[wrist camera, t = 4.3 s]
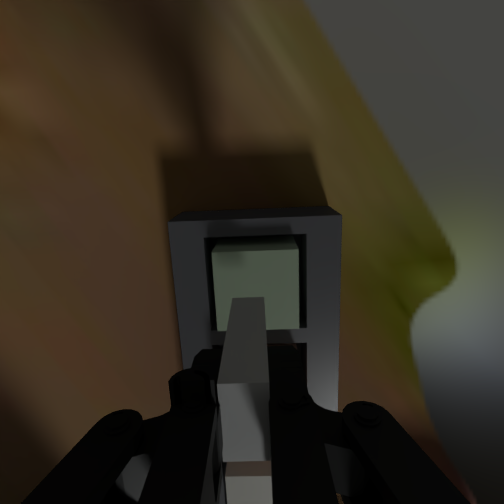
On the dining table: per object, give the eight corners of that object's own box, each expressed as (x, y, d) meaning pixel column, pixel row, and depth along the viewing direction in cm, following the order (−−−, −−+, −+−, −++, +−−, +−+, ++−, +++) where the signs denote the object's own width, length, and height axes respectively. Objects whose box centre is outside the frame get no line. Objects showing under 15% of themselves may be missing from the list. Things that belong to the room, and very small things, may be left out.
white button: (233, 485, 26) (229, 535, 23) (230, 432, 25) (225, 476, 21) (297, 484, 26) (303, 534, 22) (297, 431, 25) (303, 475, 21)
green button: (223, 306, 24) (217, 331, 20) (219, 238, 23) (211, 252, 19) (293, 303, 24) (299, 328, 20) (292, 235, 22) (298, 249, 19)
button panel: (207, 468, 29) (199, 514, 26) (182, 211, 24) (167, 222, 20) (325, 466, 29) (334, 513, 25) (328, 205, 23) (341, 215, 20)
